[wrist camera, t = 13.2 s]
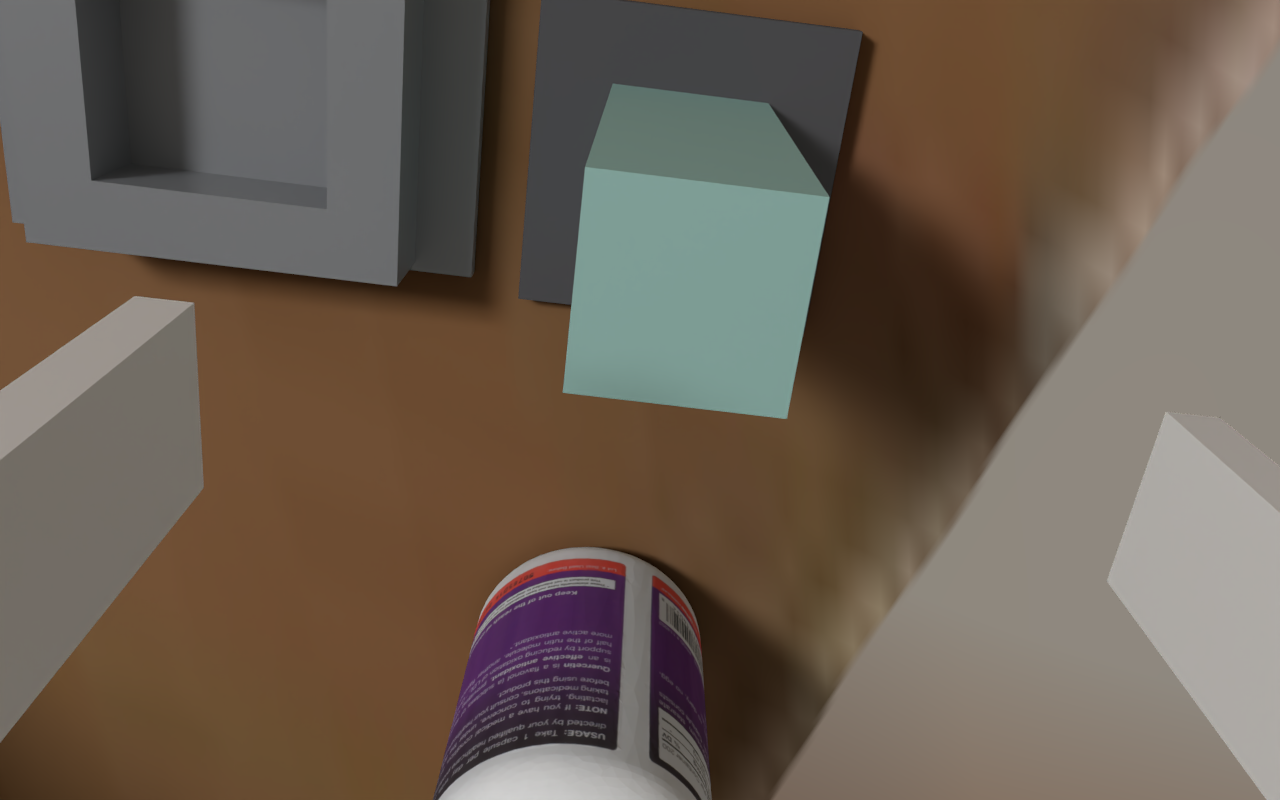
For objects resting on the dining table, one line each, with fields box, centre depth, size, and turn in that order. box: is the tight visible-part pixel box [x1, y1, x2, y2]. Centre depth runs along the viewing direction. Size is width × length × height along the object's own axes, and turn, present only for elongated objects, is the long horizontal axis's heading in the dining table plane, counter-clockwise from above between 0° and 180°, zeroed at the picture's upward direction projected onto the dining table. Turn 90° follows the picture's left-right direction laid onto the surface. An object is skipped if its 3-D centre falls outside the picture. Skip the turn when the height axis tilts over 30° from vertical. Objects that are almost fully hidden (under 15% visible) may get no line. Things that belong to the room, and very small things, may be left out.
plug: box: [563, 84, 830, 419], centre depth 26 cm, size 4×4×12 cm
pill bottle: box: [433, 547, 712, 800], centre depth 32 cm, size 8×8×14 cm
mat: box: [518, 0, 863, 333], centre depth 31 cm, size 9×9×1 cm
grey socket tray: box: [0, 0, 490, 286], centre depth 29 cm, size 14×11×3 cm
